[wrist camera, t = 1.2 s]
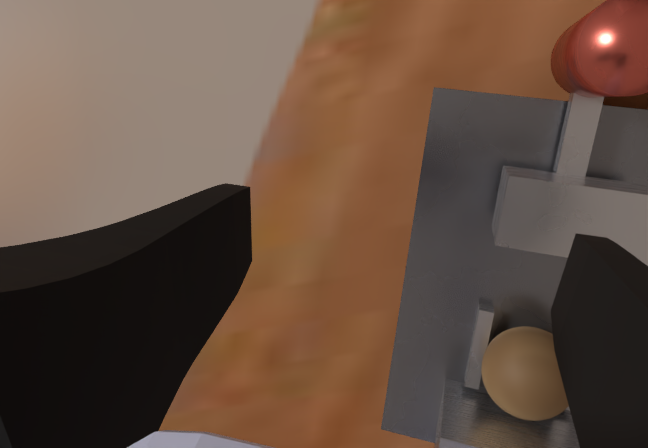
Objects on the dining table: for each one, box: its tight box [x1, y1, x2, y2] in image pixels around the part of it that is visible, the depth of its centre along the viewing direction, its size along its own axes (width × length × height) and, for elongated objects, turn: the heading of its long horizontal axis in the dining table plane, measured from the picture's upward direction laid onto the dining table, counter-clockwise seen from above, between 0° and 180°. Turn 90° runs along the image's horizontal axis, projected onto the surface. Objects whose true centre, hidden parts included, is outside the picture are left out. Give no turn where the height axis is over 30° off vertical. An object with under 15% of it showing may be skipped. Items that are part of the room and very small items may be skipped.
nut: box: [481, 326, 569, 421], centre depth 21 cm, size 4×4×4 cm
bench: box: [381, 88, 648, 448], centre depth 20 cm, size 16×11×6 cm
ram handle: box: [491, 0, 648, 266], centre depth 17 cm, size 8×5×5 cm, turn 174°
